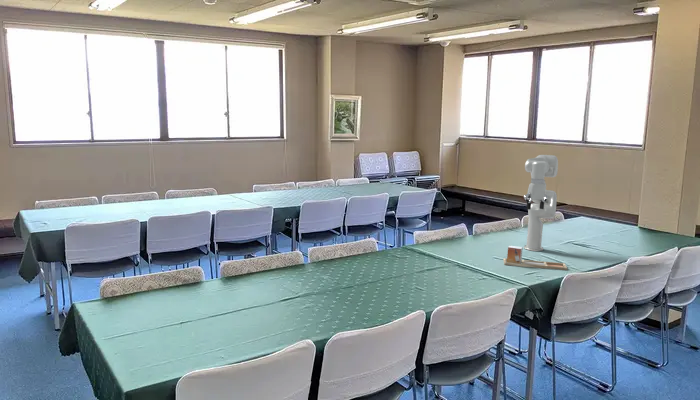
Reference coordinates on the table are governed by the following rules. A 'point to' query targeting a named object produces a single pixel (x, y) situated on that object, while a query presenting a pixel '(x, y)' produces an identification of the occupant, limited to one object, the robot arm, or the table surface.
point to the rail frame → (538, 264)
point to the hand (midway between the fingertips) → (535, 209)
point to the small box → (514, 254)
